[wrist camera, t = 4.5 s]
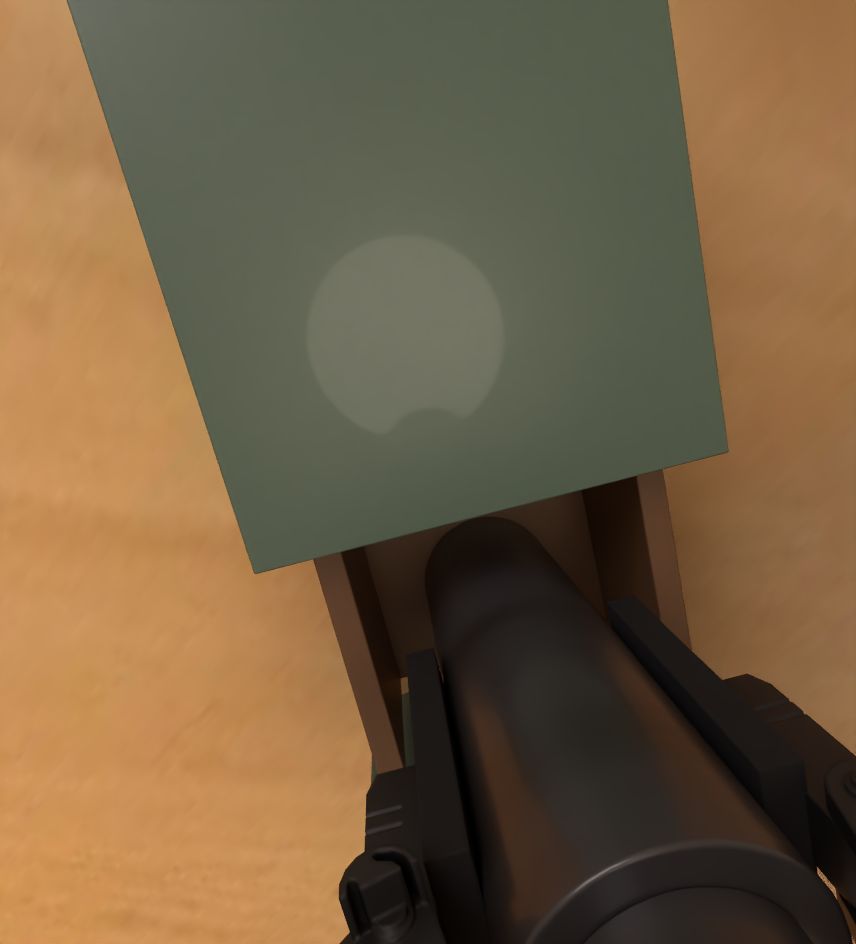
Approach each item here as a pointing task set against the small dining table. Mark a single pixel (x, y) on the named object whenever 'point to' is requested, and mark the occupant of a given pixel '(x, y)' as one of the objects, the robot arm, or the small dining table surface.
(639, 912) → the pepper mill
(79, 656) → the small dining table surface
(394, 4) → the cabinet
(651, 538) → the drawer
